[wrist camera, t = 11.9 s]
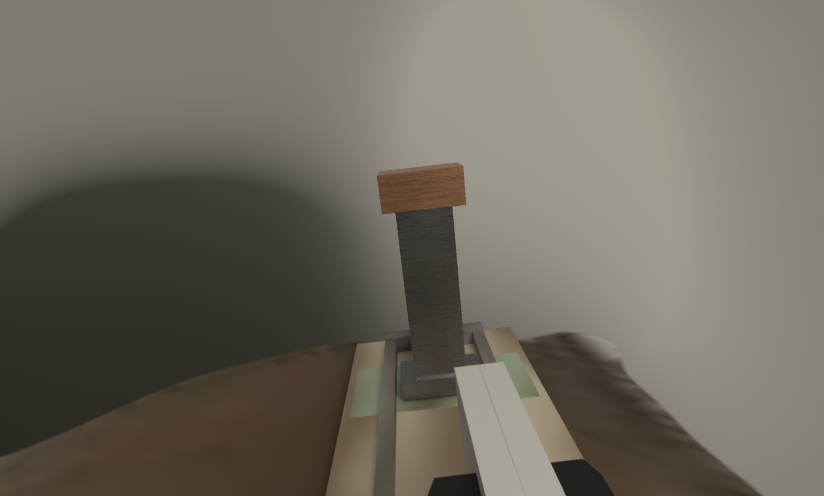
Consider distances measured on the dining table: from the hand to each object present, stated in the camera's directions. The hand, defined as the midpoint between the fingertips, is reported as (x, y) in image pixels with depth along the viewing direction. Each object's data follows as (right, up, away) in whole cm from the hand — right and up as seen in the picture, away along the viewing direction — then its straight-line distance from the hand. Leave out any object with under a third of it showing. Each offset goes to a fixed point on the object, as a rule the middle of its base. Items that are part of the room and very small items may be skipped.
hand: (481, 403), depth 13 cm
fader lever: (0, -4, +13) cm, 14 cm away
